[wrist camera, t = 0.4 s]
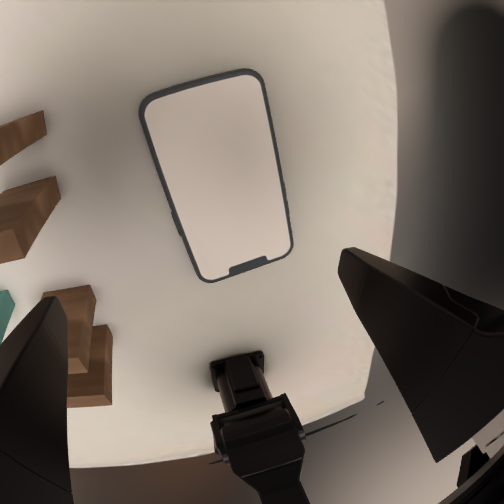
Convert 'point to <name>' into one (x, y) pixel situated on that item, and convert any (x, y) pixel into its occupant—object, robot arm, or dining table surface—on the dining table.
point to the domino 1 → (5, 311)
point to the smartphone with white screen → (220, 171)
